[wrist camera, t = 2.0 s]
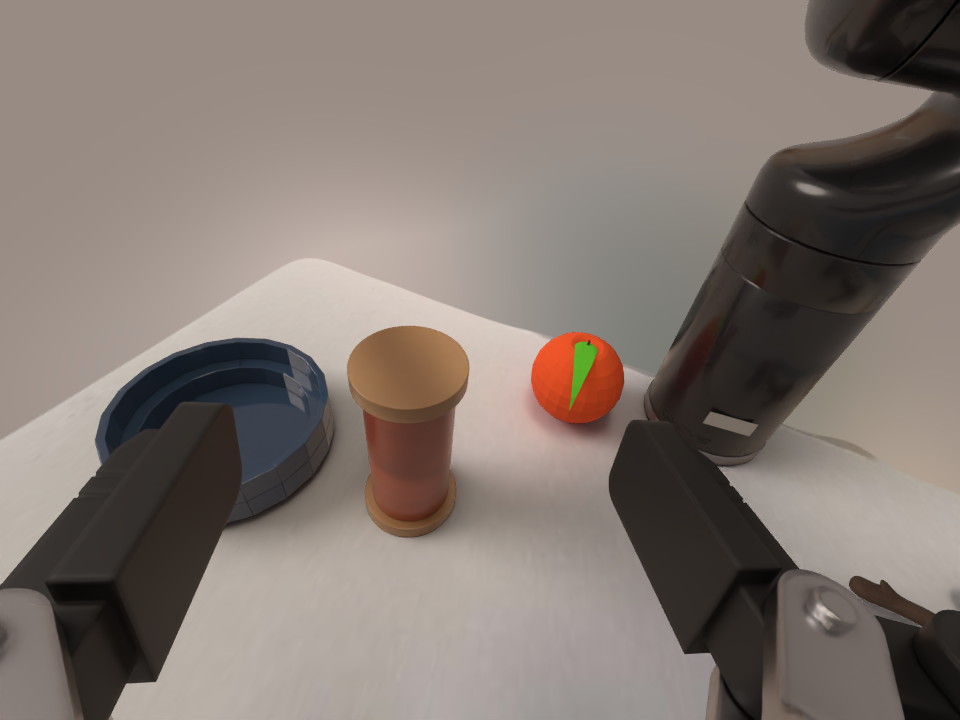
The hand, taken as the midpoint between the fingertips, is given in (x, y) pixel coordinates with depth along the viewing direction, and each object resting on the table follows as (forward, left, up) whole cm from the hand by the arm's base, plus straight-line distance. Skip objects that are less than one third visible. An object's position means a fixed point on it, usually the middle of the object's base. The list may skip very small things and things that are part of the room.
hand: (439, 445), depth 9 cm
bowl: (+3, -20, -20) cm, 28 cm away
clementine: (-19, -8, -20) cm, 29 cm away
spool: (-5, -9, -20) cm, 22 cm away
